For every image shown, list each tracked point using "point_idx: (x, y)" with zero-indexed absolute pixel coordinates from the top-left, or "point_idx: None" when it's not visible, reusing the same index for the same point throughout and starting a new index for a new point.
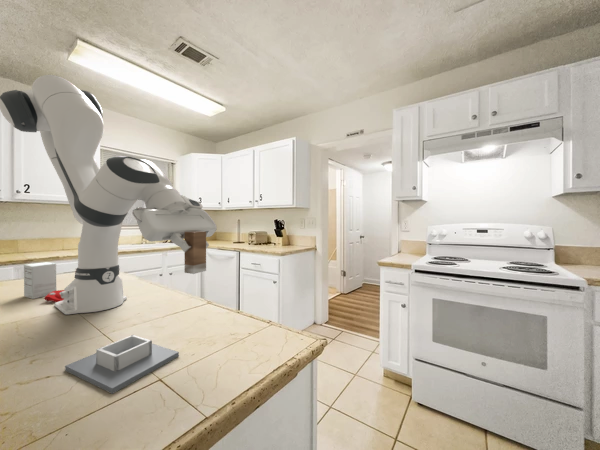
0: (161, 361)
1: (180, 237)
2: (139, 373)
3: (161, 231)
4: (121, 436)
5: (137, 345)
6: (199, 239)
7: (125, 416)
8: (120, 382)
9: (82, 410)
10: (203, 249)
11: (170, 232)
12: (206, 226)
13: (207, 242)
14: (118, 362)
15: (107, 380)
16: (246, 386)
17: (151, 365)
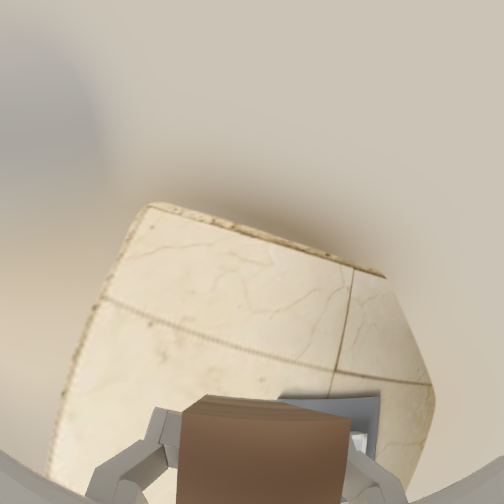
0: (312, 399)
1: (374, 477)
2: (348, 398)
3: (490, 463)
4: (401, 323)
5: None
6: (268, 412)
7: (389, 345)
8: (369, 399)
9: (400, 394)
10: (222, 403)
11: (440, 490)
12: (22, 491)
13: (151, 419)
14: (358, 432)
15: (372, 418)
16: (298, 254)
17: (327, 402)
